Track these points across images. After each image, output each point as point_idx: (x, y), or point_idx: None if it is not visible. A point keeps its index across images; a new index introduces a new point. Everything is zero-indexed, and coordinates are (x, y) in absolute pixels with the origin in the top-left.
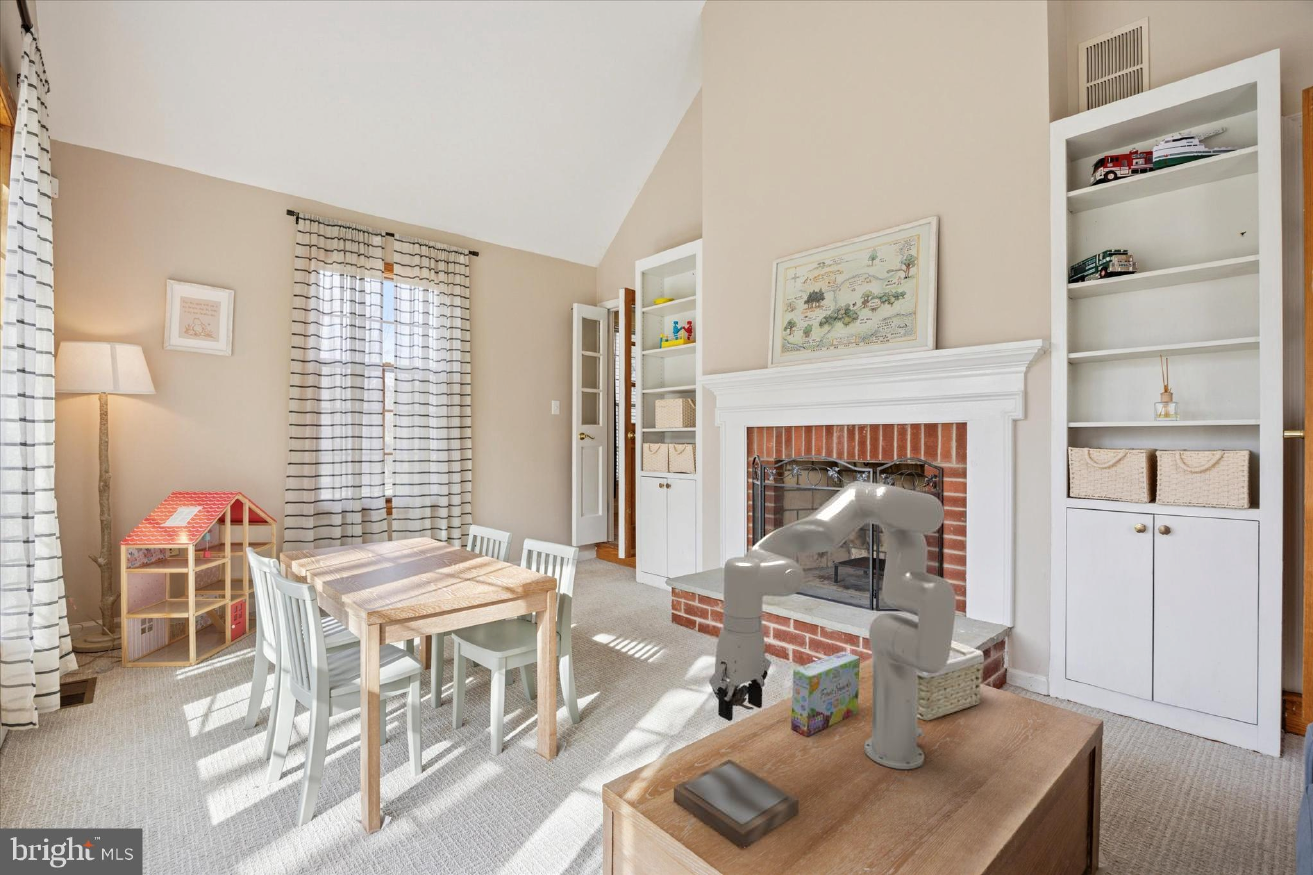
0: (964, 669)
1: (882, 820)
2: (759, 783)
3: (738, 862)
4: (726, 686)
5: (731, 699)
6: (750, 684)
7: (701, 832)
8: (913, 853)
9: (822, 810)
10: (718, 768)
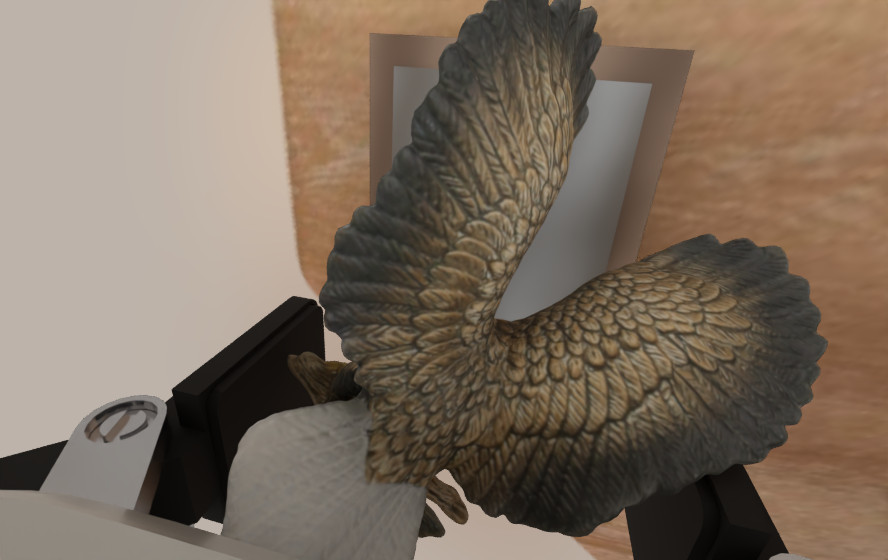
0: None
1: None
2: (594, 253)
3: None
4: (280, 441)
5: (220, 513)
6: (716, 546)
7: (353, 204)
8: (625, 553)
9: None
10: (591, 68)
